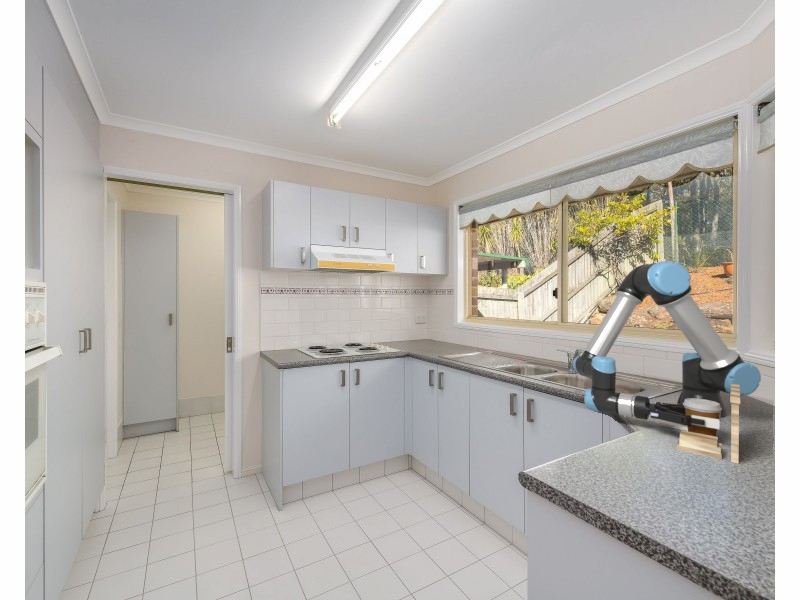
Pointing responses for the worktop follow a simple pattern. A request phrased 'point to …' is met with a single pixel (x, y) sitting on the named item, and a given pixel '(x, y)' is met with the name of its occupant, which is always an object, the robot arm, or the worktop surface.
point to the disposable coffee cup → (702, 414)
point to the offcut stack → (699, 444)
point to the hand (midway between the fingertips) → (720, 420)
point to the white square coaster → (673, 425)
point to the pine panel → (735, 422)
